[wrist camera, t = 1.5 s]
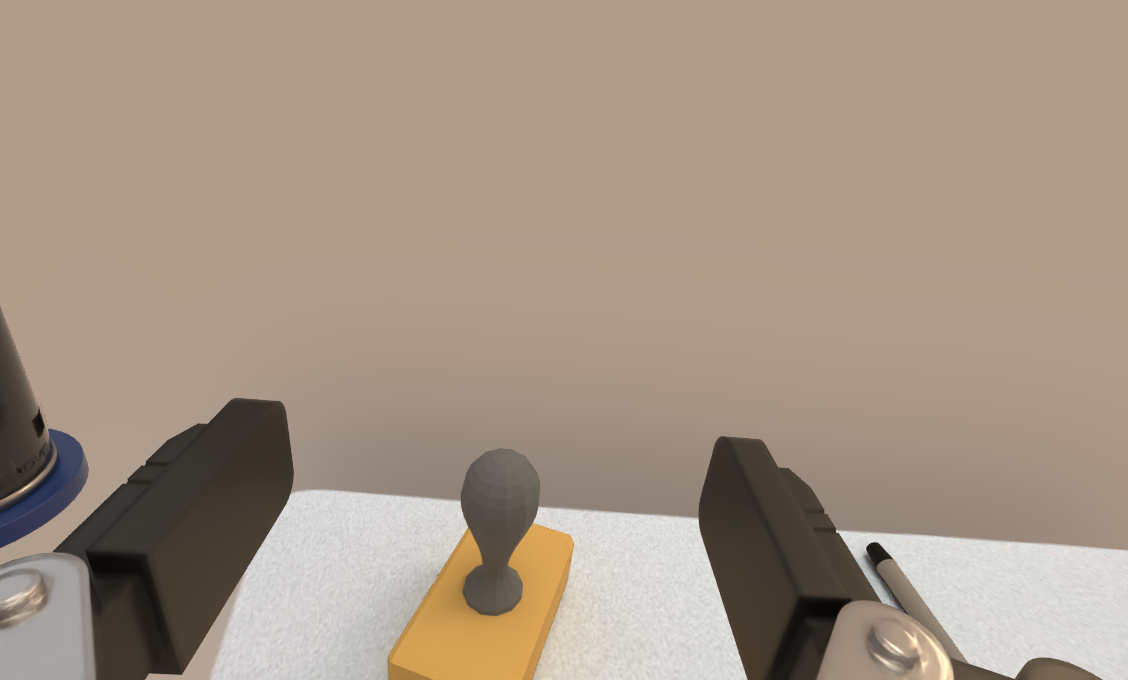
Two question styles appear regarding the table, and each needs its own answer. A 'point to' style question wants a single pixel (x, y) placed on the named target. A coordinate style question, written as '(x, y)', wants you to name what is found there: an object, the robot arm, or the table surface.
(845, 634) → the robot arm
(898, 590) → the pen
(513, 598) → the rubber stamp
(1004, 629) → the table surface
